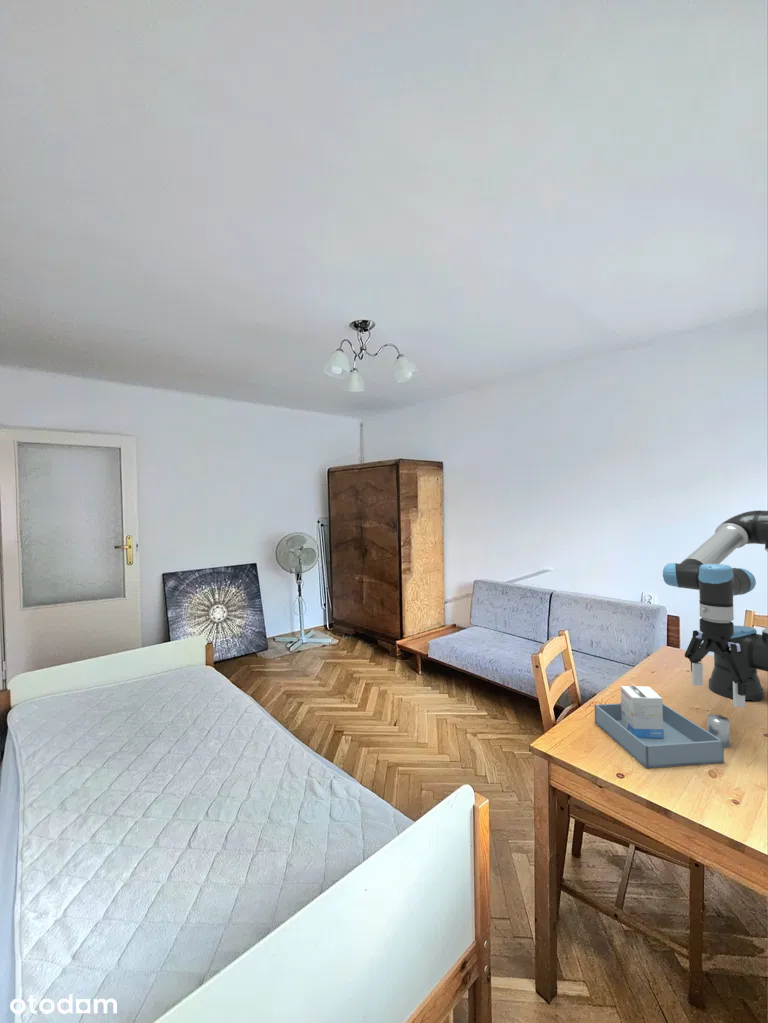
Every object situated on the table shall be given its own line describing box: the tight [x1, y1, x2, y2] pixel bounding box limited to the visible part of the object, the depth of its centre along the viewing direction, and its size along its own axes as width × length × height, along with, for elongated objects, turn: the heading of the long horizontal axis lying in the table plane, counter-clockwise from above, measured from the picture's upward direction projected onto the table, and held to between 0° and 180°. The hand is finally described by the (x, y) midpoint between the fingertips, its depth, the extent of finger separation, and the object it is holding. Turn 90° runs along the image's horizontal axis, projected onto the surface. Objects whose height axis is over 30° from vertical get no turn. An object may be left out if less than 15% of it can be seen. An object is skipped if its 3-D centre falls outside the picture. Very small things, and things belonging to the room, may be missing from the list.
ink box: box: [620, 682, 664, 738], centre depth 125 cm, size 9×8×13 cm
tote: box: [594, 702, 725, 769], centre depth 121 cm, size 21×23×6 cm
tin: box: [706, 713, 731, 749], centre depth 119 cm, size 5×5×7 cm
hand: (717, 695), depth 119 cm, fingers open, 13 cm apart
